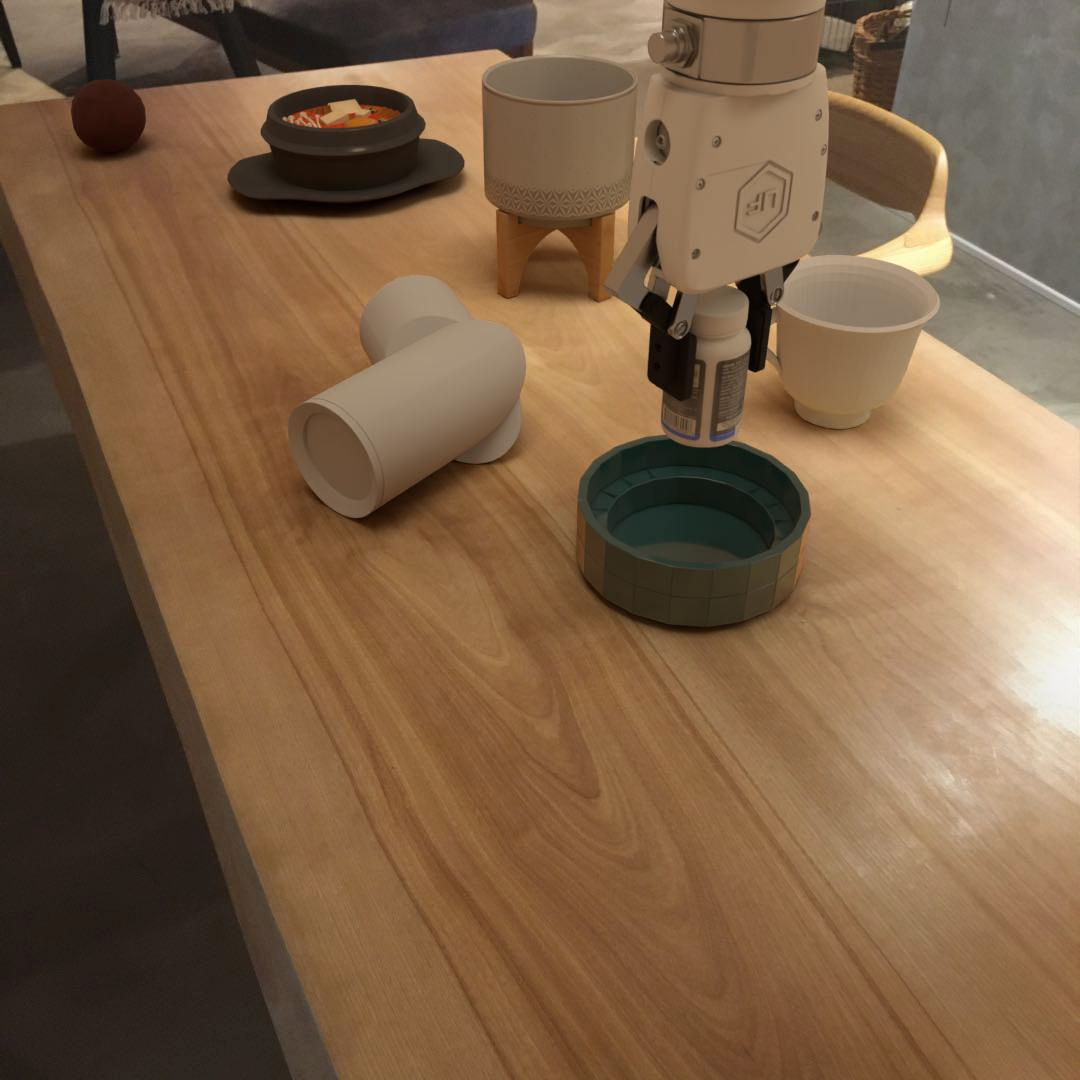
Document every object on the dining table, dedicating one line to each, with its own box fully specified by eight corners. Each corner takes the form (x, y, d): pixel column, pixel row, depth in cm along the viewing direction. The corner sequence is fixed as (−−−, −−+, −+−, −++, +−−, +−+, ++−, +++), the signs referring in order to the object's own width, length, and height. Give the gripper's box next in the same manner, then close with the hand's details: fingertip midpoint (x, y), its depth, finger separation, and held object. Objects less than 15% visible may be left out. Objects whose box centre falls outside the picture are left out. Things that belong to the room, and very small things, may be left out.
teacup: (701, 375, 94) (713, 258, 88) (883, 367, 95) (907, 250, 89) (734, 459, 85) (750, 334, 79) (936, 449, 86) (966, 325, 80)
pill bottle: (733, 407, 72) (749, 278, 66) (746, 449, 68) (764, 317, 63) (655, 408, 71) (665, 279, 66) (664, 450, 68) (675, 318, 63)
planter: (458, 272, 109) (449, 73, 98) (562, 235, 116) (565, 45, 105) (550, 321, 101) (552, 112, 90) (656, 278, 108) (670, 79, 97)
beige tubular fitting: (585, 475, 81) (490, 344, 95) (555, 347, 74) (457, 227, 88) (343, 577, 78) (283, 425, 93) (288, 454, 71) (233, 312, 86)
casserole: (241, 233, 116) (227, 148, 111) (221, 167, 130) (208, 89, 125) (485, 203, 122) (483, 122, 117) (441, 144, 136) (438, 68, 131)
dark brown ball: (167, 139, 137) (153, 70, 132) (127, 167, 130) (111, 96, 125) (104, 133, 138) (88, 65, 134) (61, 161, 131) (43, 90, 126)
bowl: (846, 585, 74) (859, 521, 71) (658, 664, 68) (664, 598, 65) (710, 473, 83) (716, 412, 80) (536, 534, 78) (536, 471, 75)
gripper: (651, 94, 50) (630, 453, 61) (920, 32, 58) (858, 360, 69) (549, 52, 55) (546, 391, 66) (810, 0, 63) (768, 312, 74)
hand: (706, 372), depth 67 cm, fingers closed on pill bottle, 4 cm apart
